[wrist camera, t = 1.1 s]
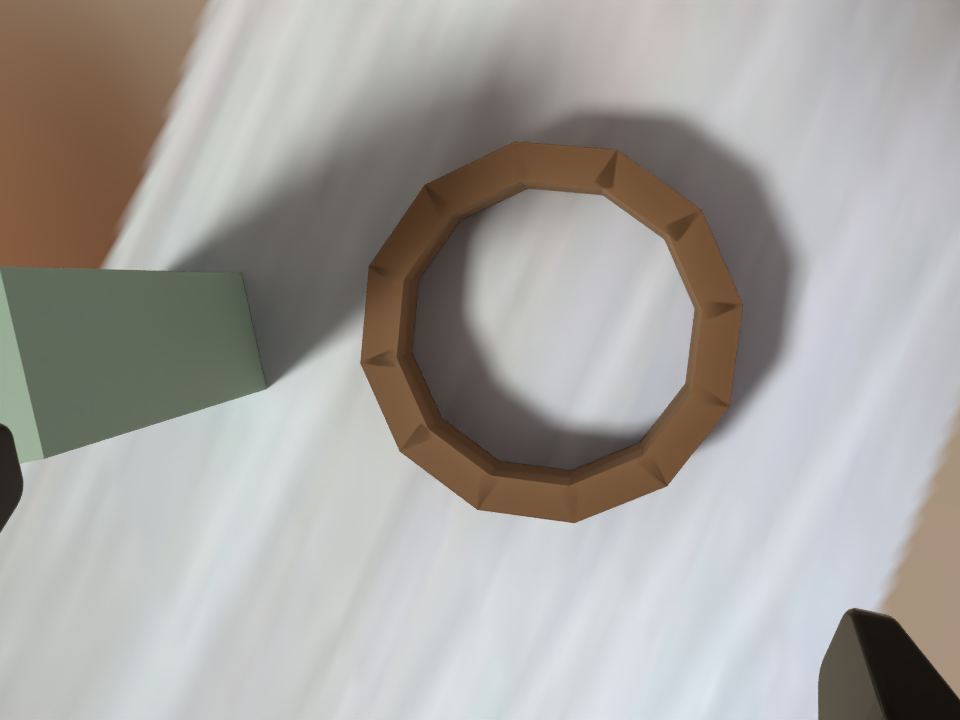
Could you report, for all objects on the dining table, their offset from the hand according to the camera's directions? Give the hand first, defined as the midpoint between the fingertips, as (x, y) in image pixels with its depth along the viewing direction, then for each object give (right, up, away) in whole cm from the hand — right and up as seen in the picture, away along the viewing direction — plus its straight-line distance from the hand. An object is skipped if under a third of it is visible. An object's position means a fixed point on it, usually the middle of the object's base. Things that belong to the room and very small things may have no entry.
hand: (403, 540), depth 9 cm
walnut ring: (+3, +3, +17) cm, 17 cm away
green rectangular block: (-8, +2, +18) cm, 20 cm away
